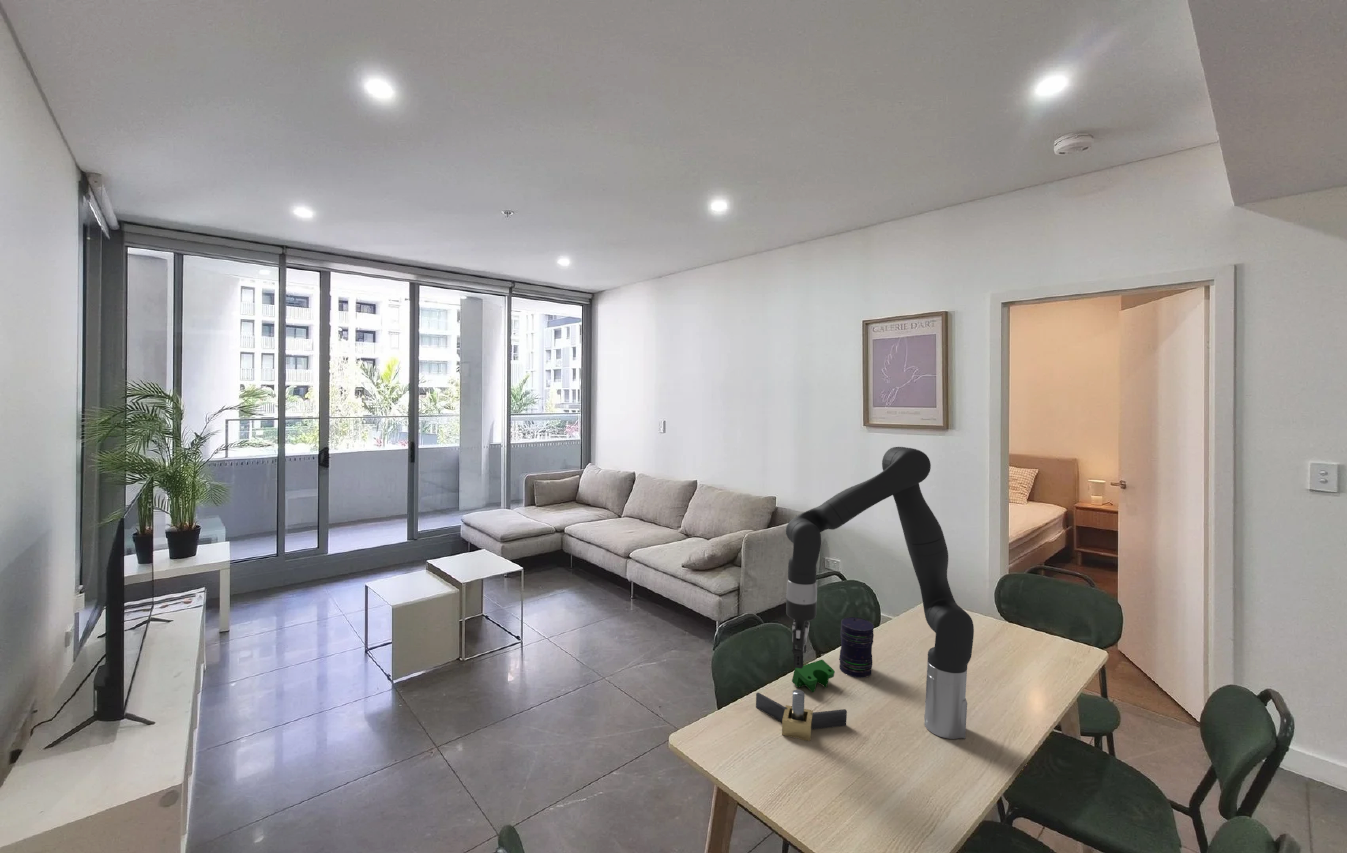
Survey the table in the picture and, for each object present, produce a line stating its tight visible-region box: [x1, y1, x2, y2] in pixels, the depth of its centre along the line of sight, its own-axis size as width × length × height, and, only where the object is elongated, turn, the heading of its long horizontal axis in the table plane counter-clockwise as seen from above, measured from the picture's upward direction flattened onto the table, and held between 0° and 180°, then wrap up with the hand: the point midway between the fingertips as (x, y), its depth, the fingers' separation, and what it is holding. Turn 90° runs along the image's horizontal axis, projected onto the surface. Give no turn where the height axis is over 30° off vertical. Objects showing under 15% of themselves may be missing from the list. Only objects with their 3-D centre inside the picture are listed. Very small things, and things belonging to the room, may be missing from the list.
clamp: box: [791, 659, 835, 693], centre depth 163 cm, size 12×6×9 cm, turn 113°
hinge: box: [755, 692, 848, 742], centre depth 143 cm, size 24×11×4 cm, turn 72°
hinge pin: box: [791, 689, 806, 721], centre depth 141 cm, size 3×3×10 cm
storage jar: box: [838, 616, 875, 679], centre depth 173 cm, size 10×10×15 cm
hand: (800, 659), depth 140 cm, fingers open, 8 cm apart
